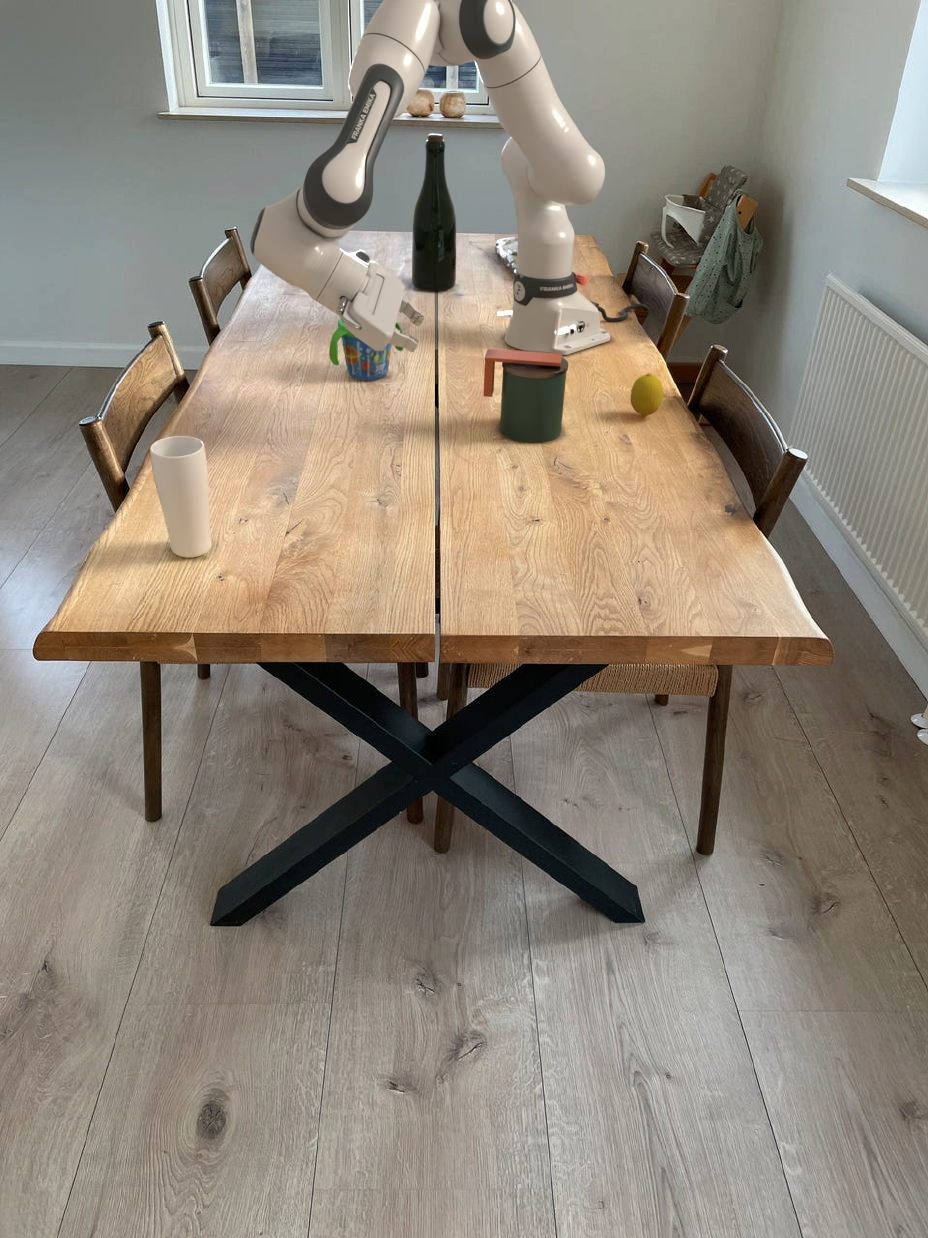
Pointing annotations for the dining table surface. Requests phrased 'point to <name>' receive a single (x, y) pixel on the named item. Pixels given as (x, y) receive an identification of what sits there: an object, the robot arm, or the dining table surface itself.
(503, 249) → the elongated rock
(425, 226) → the dark green wine bottle
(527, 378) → the green canister
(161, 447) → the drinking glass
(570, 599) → the dining table surface
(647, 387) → the lemon
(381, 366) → the snack cup
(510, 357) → the bracket
